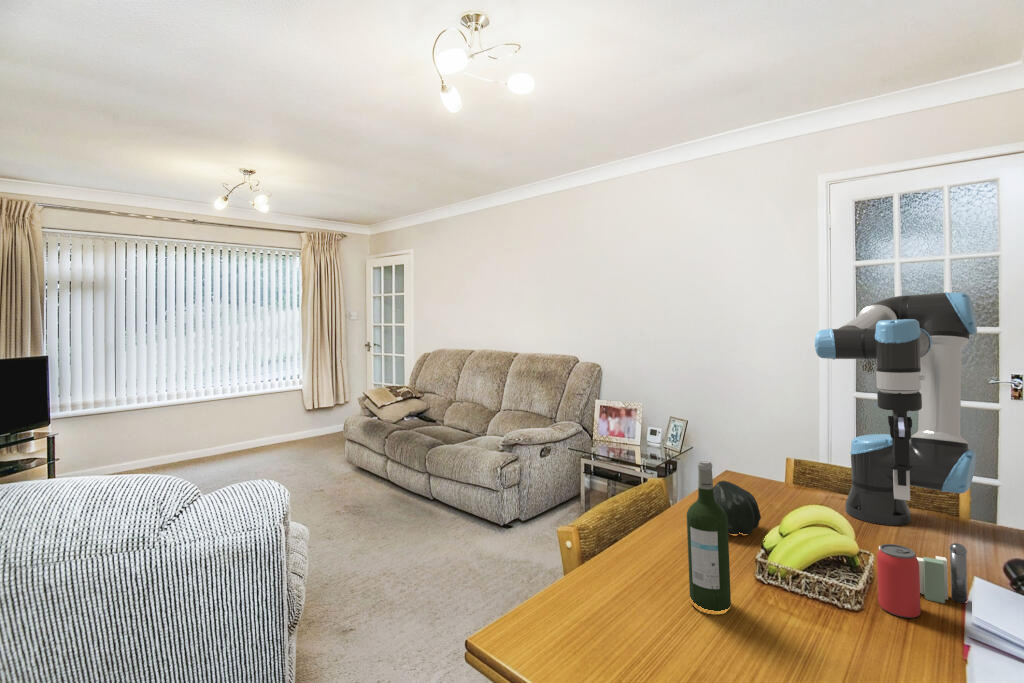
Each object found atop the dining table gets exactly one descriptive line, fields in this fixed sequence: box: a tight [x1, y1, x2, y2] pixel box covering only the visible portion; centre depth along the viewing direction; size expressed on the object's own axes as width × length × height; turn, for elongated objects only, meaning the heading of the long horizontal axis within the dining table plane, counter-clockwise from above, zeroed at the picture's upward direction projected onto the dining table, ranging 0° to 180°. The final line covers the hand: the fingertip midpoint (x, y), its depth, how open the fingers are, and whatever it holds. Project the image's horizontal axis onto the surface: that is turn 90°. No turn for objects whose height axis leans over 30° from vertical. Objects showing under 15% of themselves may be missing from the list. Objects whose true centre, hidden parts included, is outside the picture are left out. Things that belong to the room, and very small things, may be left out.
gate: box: [878, 545, 949, 600], centre depth 102 cm, size 11×2×8 cm, turn 55°
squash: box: [713, 480, 762, 535], centre depth 135 cm, size 14×15×15 cm
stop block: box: [922, 556, 946, 604], centre depth 99 cm, size 2×3×8 cm, turn 54°
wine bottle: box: [686, 459, 732, 611], centre depth 100 cm, size 8×8×30 cm
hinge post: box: [949, 542, 968, 605], centre depth 98 cm, size 3×3×12 cm
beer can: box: [876, 543, 922, 619], centre depth 96 cm, size 7×7×12 cm
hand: (901, 498), depth 105 cm, fingers closed
